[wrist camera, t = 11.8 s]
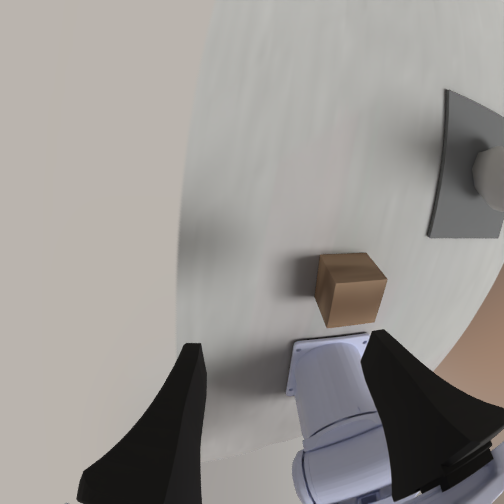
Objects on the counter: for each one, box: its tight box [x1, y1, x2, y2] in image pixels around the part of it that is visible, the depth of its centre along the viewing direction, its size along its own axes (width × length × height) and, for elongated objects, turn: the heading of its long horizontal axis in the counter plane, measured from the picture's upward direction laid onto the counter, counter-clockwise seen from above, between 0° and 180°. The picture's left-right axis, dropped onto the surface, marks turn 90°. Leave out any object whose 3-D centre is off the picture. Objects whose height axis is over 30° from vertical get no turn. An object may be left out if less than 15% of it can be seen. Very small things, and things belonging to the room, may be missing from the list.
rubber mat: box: [428, 90, 504, 238], centre depth 17 cm, size 13×12×1 cm
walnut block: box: [314, 253, 387, 328], centre depth 20 cm, size 4×4×4 cm
